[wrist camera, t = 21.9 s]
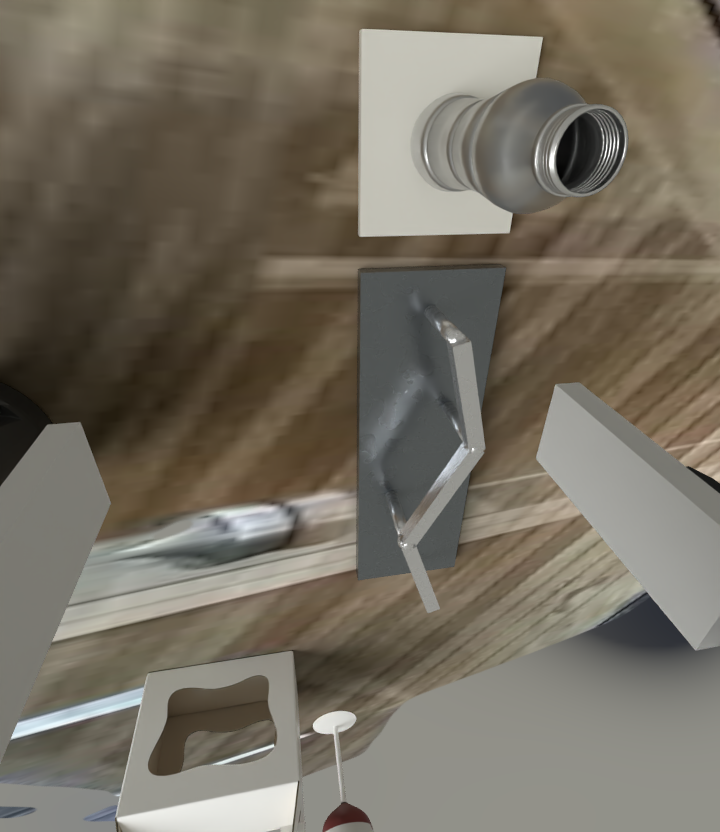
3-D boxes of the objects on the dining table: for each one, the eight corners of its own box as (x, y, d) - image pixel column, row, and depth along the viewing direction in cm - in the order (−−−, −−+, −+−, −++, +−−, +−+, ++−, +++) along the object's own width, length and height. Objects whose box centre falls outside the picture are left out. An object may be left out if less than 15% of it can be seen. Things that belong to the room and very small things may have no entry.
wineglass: (324, 707, 82) (340, 873, 64) (367, 713, 86) (395, 871, 67) (301, 732, 85) (310, 896, 67) (344, 736, 89) (364, 893, 71)
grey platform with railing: (356, 571, 64) (369, 636, 56) (357, 268, 42) (380, 302, 34) (450, 558, 66) (477, 619, 58) (499, 263, 44) (553, 293, 36)
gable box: (164, 716, 75) (117, 981, 51) (145, 672, 68) (81, 955, 44) (299, 693, 78) (312, 931, 55) (294, 649, 71) (307, 900, 48)
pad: (358, 234, 40) (360, 236, 40) (359, 31, 33) (361, 28, 32) (504, 231, 42) (509, 233, 42) (536, 39, 35) (542, 37, 34)
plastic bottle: (440, 73, 34) (606, 15, 18) (497, 137, 37) (685, 140, 21) (387, 151, 36) (490, 165, 20) (445, 206, 39) (578, 258, 23)
